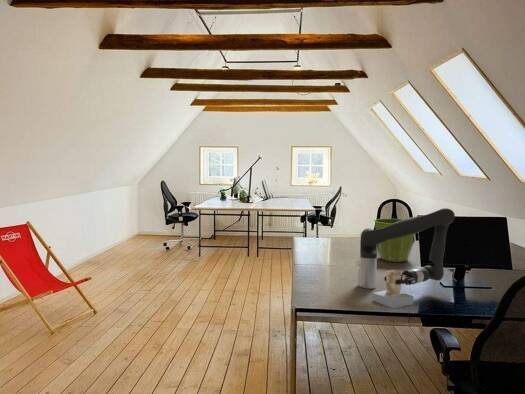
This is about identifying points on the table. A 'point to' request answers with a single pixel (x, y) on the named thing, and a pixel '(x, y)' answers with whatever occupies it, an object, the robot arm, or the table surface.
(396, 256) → the plant pot
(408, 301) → the base
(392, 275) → the beech block
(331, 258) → the table surface
